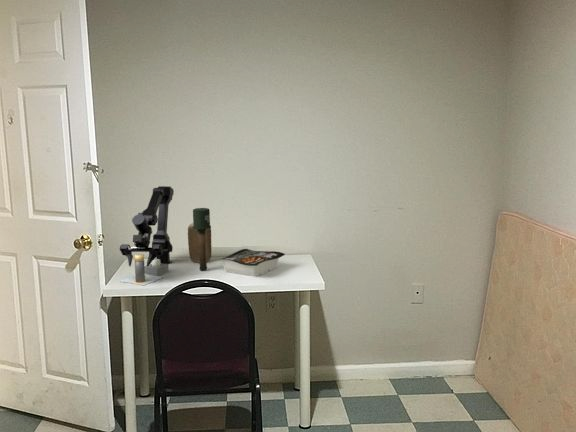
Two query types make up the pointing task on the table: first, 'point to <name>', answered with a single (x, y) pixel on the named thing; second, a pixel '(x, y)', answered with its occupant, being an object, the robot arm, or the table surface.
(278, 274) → the table surface
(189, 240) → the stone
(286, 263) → the table surface
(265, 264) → the food packaging
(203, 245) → the potato masher grenade
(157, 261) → the button cap
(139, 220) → the robot arm
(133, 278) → the worksheet
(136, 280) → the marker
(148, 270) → the button housing
